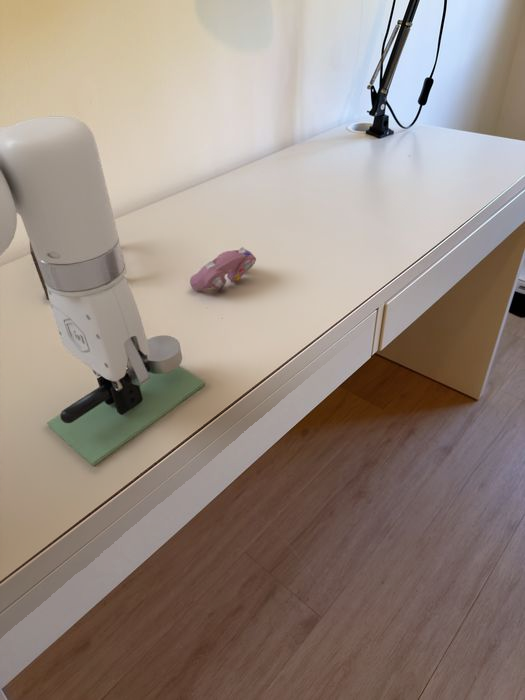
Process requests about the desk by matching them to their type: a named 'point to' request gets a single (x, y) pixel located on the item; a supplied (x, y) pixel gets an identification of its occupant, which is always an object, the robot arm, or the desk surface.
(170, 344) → the grey saucepan
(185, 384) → the mat
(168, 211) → the desk surface
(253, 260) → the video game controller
